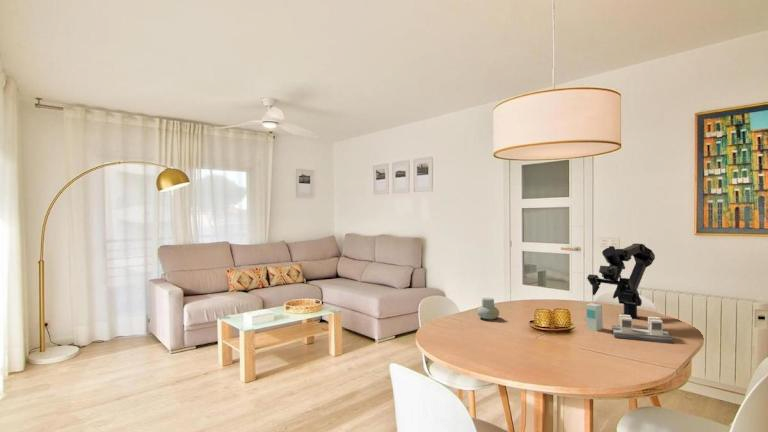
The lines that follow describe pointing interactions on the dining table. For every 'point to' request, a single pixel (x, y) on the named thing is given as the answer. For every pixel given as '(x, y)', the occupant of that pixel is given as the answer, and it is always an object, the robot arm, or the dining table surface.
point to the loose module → (594, 316)
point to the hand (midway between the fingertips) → (603, 296)
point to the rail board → (641, 330)
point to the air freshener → (488, 309)
